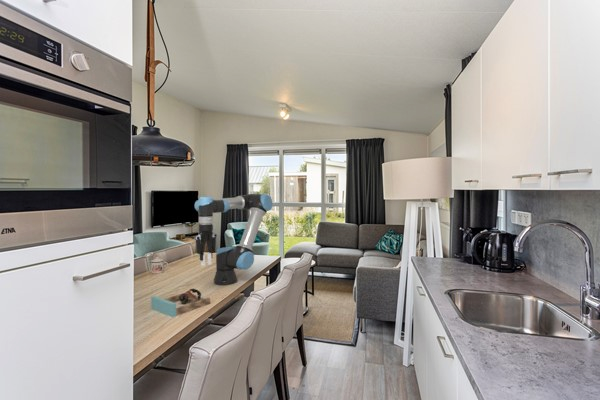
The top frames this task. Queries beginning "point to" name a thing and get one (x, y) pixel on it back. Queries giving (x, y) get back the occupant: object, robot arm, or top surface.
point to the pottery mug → (190, 295)
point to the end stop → (163, 306)
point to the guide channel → (189, 306)
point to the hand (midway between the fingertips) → (206, 265)
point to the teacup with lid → (157, 265)
